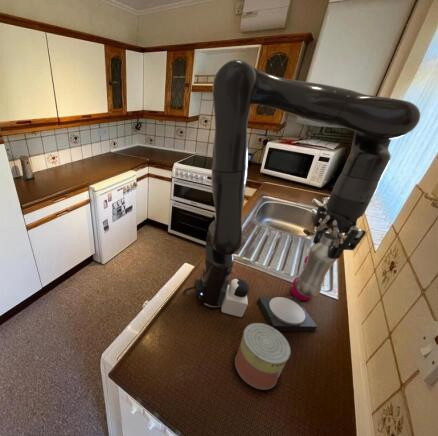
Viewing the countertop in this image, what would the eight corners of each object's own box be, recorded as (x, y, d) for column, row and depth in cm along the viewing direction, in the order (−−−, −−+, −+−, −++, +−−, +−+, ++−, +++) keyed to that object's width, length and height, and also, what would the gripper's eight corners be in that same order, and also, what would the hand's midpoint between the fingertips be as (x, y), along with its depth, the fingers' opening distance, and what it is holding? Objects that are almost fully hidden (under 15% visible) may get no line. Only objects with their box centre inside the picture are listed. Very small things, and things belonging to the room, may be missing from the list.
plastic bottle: (314, 286, 74) (340, 232, 65) (320, 303, 69) (350, 246, 59) (291, 281, 76) (313, 228, 66) (295, 296, 70) (320, 240, 61)
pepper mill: (313, 303, 88) (335, 260, 79) (292, 300, 90) (311, 258, 80) (306, 289, 95) (325, 248, 85) (287, 286, 96) (303, 245, 86)
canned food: (274, 399, 61) (288, 373, 55) (230, 374, 66) (238, 347, 60) (279, 361, 69) (292, 335, 63) (240, 342, 74) (248, 316, 69)
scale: (271, 330, 78) (274, 324, 77) (257, 301, 89) (259, 295, 87) (314, 331, 78) (318, 325, 77) (295, 302, 89) (297, 296, 87)
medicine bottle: (240, 302, 89) (250, 279, 83) (242, 318, 83) (253, 294, 77) (221, 297, 90) (229, 273, 84) (221, 312, 84) (230, 288, 78)
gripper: (317, 182, 63) (296, 235, 71) (358, 206, 50) (327, 267, 58) (346, 183, 63) (322, 236, 71) (394, 207, 50) (358, 268, 58)
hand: (324, 250), depth 65 cm, fingers closed on plastic bottle, 6 cm apart
